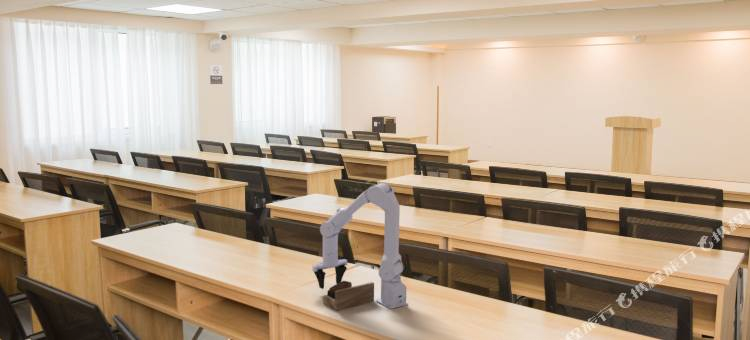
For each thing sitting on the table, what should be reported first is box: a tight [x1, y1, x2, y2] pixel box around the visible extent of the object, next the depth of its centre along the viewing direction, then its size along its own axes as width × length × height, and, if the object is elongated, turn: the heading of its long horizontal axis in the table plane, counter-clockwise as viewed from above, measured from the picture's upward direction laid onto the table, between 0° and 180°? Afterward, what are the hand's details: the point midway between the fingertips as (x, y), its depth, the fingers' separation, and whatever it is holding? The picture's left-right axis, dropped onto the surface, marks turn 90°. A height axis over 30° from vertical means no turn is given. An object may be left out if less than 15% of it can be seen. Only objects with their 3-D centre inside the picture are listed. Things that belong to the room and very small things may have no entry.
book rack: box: [323, 281, 375, 312], centre depth 215 cm, size 9×16×7 cm, turn 127°
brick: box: [326, 280, 353, 299], centre depth 221 cm, size 11×4×5 cm, turn 148°
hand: (330, 286), depth 226 cm, fingers open, 7 cm apart
